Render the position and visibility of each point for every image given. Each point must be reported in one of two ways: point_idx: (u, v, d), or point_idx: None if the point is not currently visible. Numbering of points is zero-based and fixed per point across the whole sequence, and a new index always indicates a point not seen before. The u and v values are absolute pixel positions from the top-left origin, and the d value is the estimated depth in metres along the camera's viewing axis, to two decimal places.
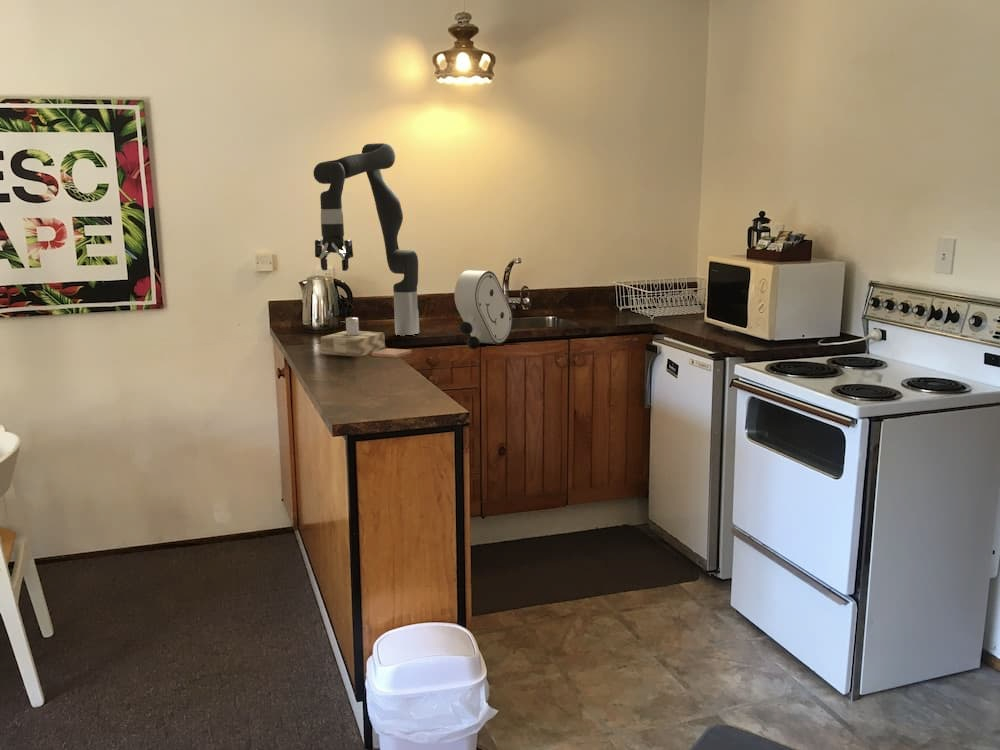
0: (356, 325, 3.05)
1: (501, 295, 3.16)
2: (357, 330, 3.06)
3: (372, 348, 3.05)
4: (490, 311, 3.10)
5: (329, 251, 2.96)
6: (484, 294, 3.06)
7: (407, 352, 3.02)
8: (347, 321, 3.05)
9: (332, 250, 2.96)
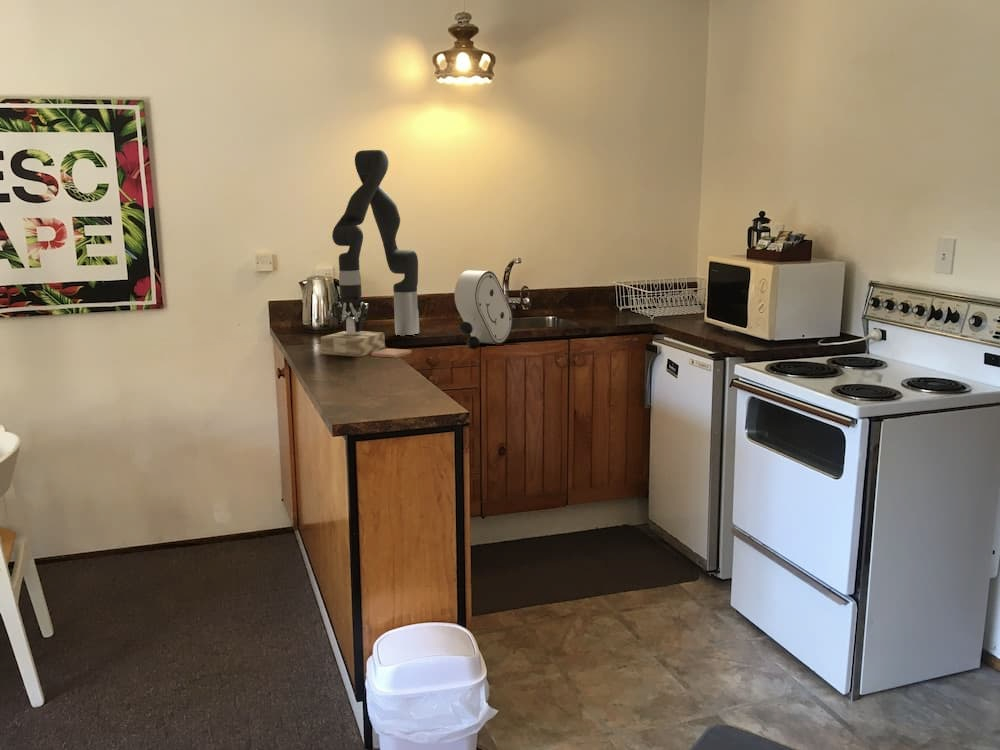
0: None
1: (501, 295, 3.16)
2: None
3: (372, 348, 3.05)
4: (490, 311, 3.10)
5: (347, 310, 3.05)
6: (484, 294, 3.06)
7: (407, 352, 3.02)
8: (347, 321, 3.05)
9: (350, 310, 3.04)
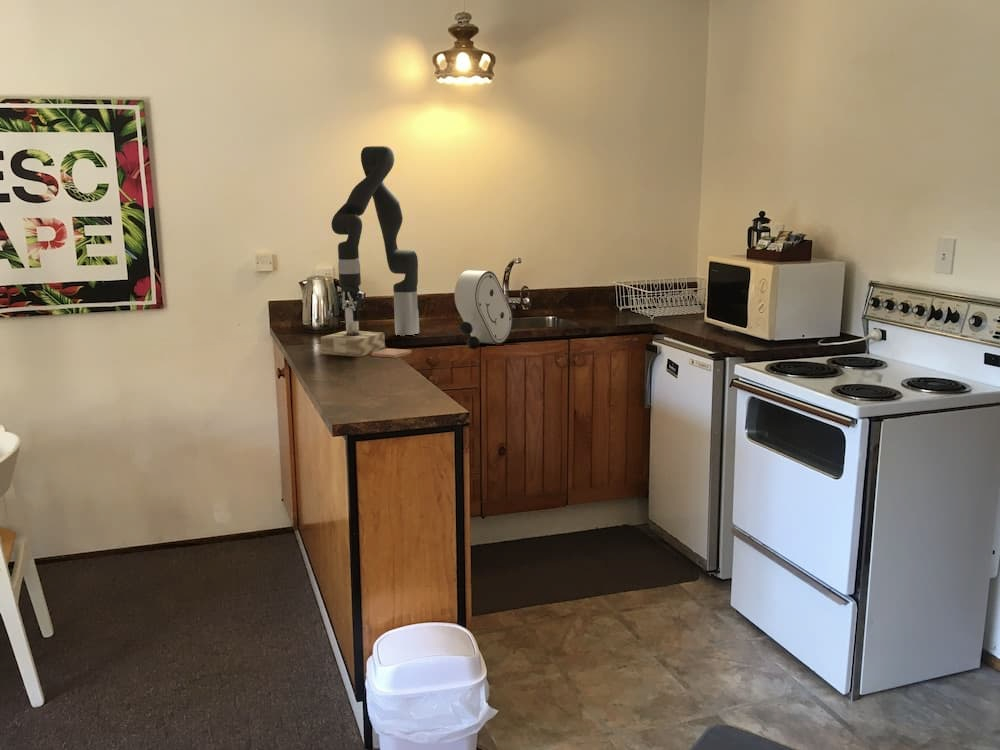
0: None
1: (501, 295, 3.16)
2: None
3: (372, 348, 3.05)
4: (490, 311, 3.10)
5: (346, 299, 3.05)
6: (484, 294, 3.06)
7: (407, 352, 3.02)
8: (345, 310, 3.04)
9: (348, 298, 3.04)
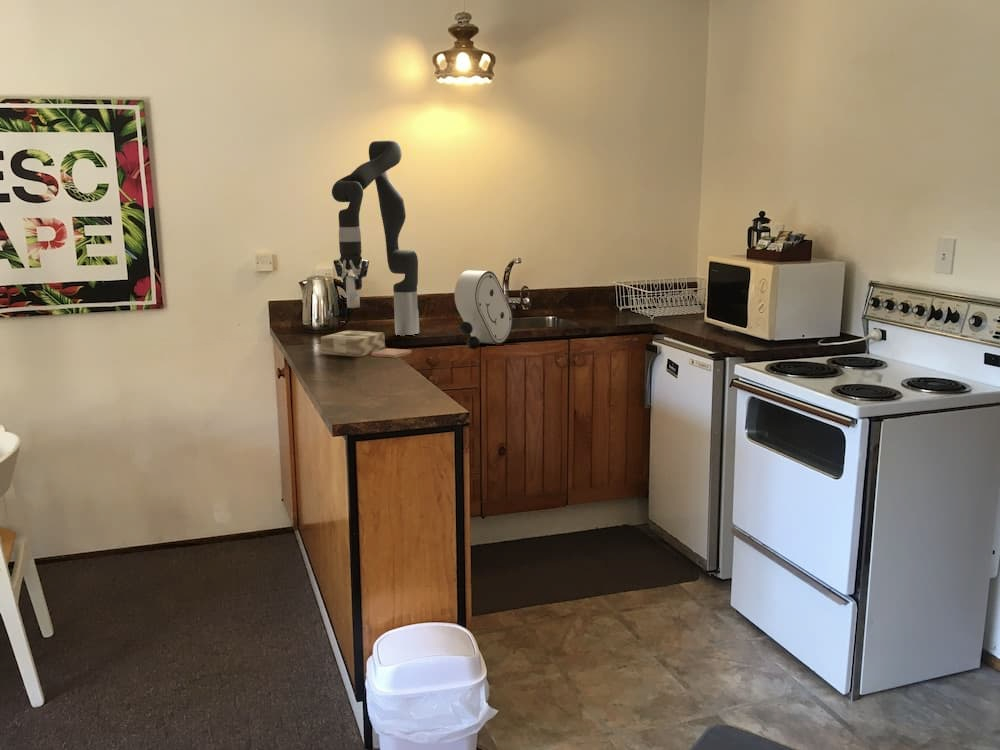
0: None
1: (501, 295, 3.16)
2: None
3: (372, 348, 3.05)
4: (490, 311, 3.10)
5: (347, 268, 3.02)
6: (484, 294, 3.06)
7: (407, 352, 3.02)
8: (347, 279, 3.01)
9: (350, 267, 3.01)
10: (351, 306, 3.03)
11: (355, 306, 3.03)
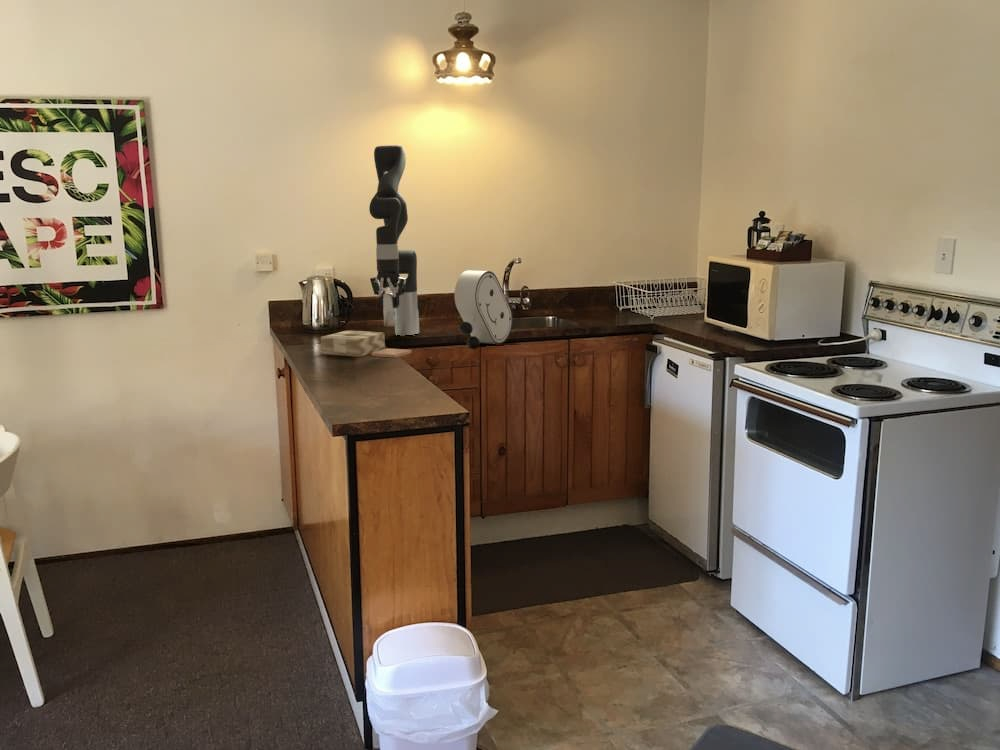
0: None
1: (501, 295, 3.16)
2: None
3: (372, 348, 3.05)
4: (490, 311, 3.10)
5: (384, 286, 2.96)
6: (484, 294, 3.06)
7: (407, 352, 3.02)
8: (384, 297, 2.96)
9: (387, 285, 2.96)
10: (388, 324, 2.97)
11: (392, 324, 2.98)
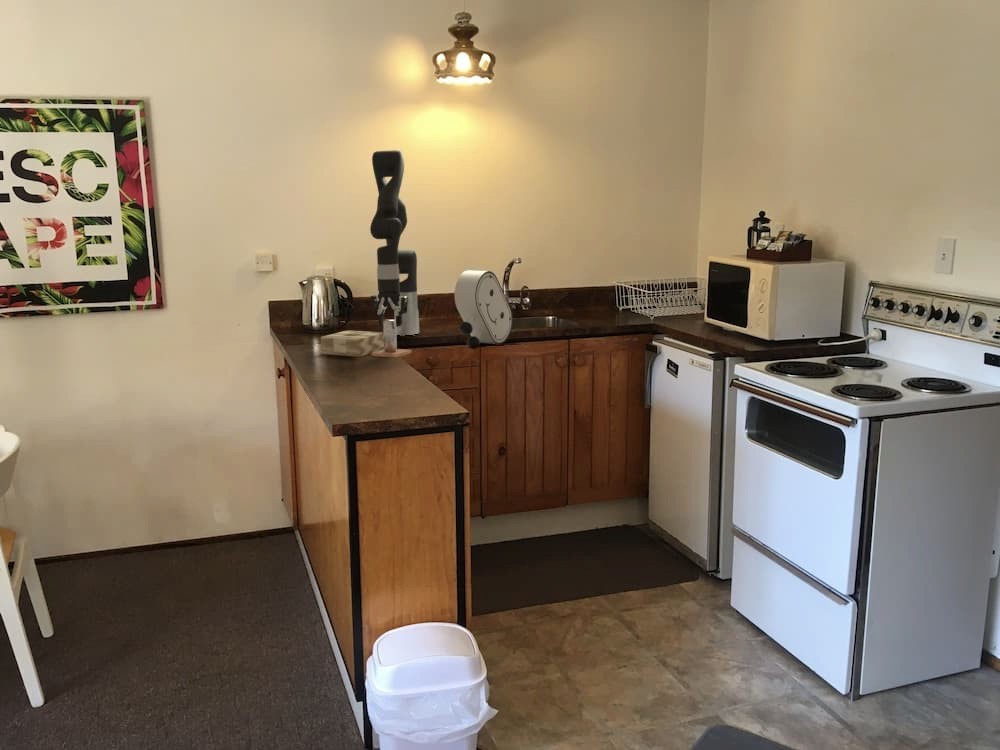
0: (394, 327, 2.99)
1: (501, 295, 3.16)
2: (395, 332, 2.99)
3: (372, 348, 3.05)
4: (490, 311, 3.10)
5: (385, 305, 2.98)
6: (484, 294, 3.06)
7: (407, 352, 3.02)
8: (384, 323, 2.98)
9: (388, 304, 2.97)
10: (388, 350, 2.99)
11: (392, 351, 3.00)
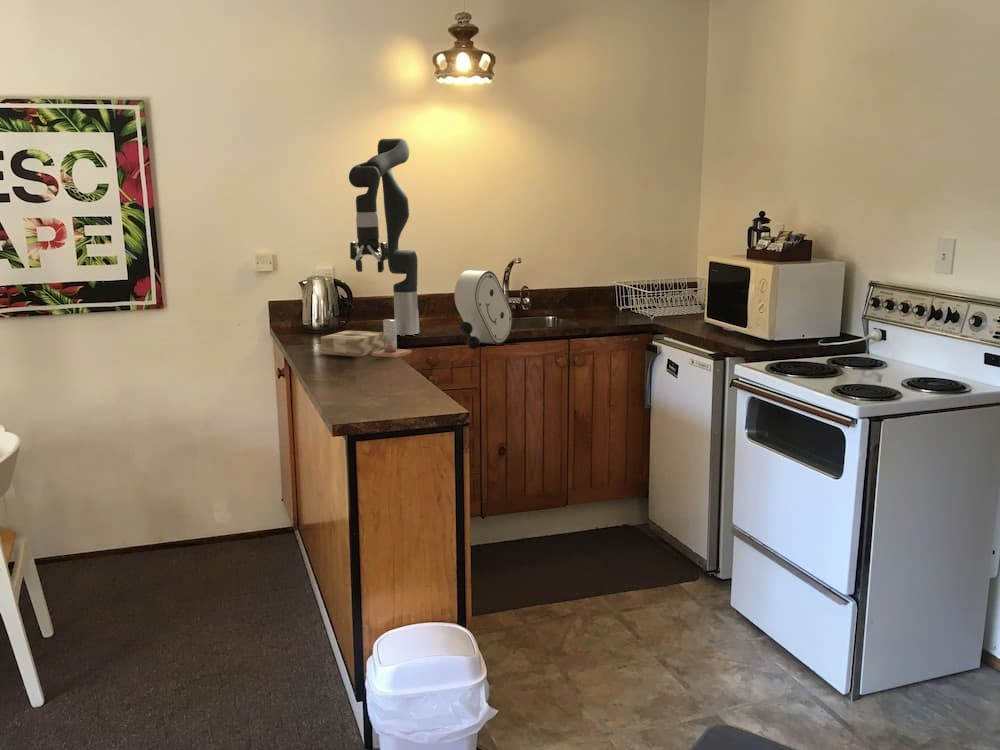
0: (394, 327, 2.99)
1: (501, 295, 3.16)
2: (395, 332, 2.99)
3: (372, 348, 3.05)
4: (490, 311, 3.10)
5: (364, 253, 3.03)
6: (484, 294, 3.06)
7: (407, 352, 3.02)
8: (385, 323, 2.98)
9: (367, 252, 3.03)
10: (388, 350, 2.99)
11: (392, 351, 3.00)
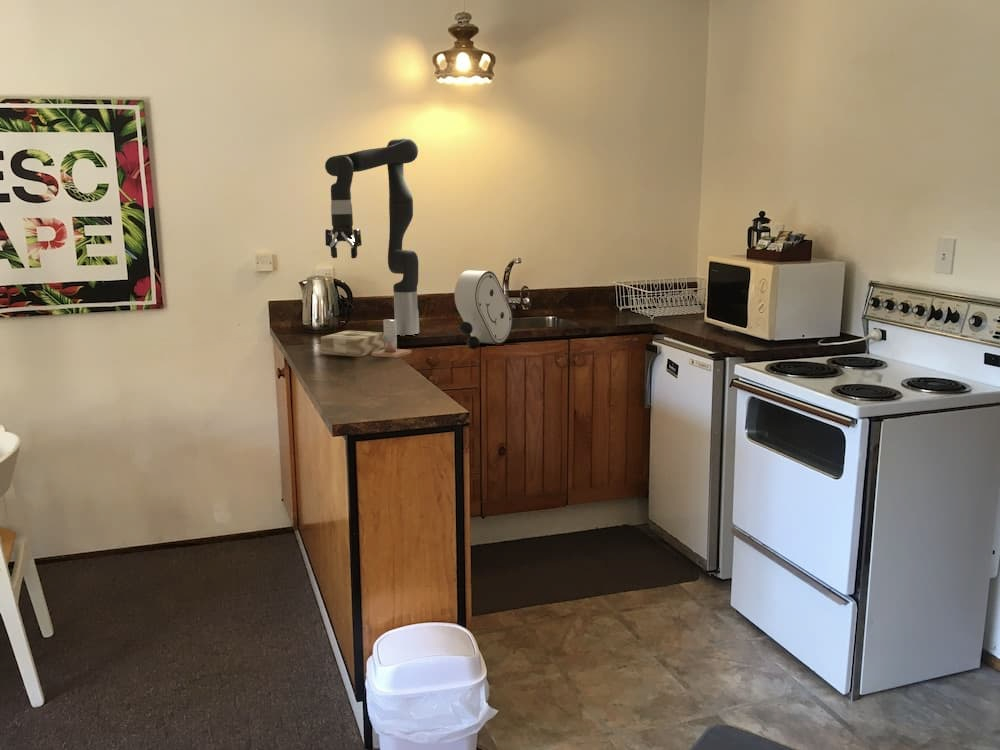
0: (394, 327, 2.99)
1: (501, 295, 3.16)
2: (395, 332, 2.99)
3: (372, 348, 3.05)
4: (490, 311, 3.10)
5: (339, 240, 3.14)
6: (484, 294, 3.06)
7: (407, 352, 3.02)
8: (385, 323, 2.98)
9: (342, 239, 3.14)
10: (388, 350, 2.99)
11: (392, 351, 3.00)
